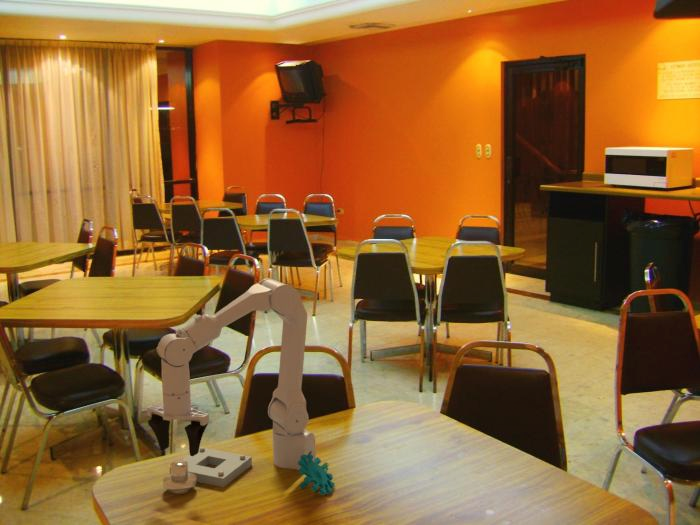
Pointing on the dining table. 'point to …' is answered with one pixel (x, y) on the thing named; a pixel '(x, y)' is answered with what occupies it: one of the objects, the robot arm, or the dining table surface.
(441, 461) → the dining table surface
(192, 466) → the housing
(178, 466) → the end cap
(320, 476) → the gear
